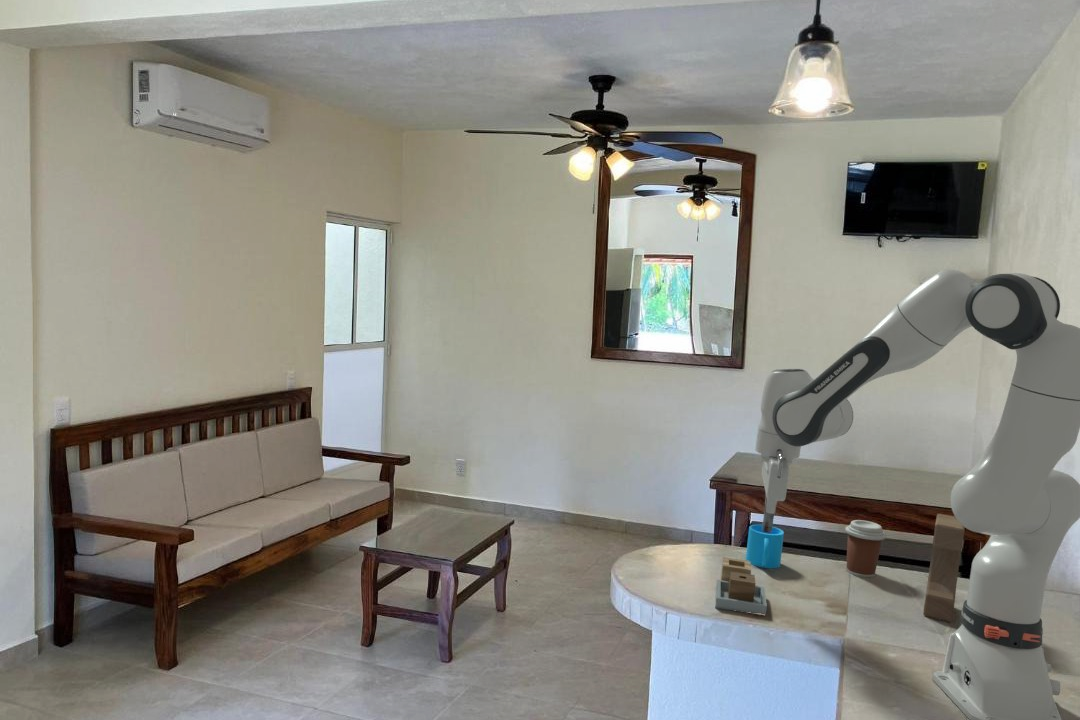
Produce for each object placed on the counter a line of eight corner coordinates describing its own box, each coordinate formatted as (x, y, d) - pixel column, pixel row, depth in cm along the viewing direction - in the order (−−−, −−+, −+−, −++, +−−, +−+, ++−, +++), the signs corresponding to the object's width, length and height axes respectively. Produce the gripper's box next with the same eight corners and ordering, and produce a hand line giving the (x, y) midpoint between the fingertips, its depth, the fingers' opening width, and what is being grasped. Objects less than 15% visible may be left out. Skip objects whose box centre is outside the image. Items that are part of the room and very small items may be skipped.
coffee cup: (851, 563, 205) (857, 516, 204) (887, 575, 198) (893, 526, 197) (833, 570, 199) (839, 521, 197) (870, 582, 192) (876, 532, 191)
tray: (765, 616, 167) (766, 605, 166) (715, 608, 169) (716, 597, 168) (763, 596, 177) (764, 586, 177) (715, 589, 179) (716, 579, 179)
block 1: (748, 592, 179) (751, 569, 179) (720, 587, 181) (723, 565, 180) (747, 582, 185) (750, 561, 185) (720, 578, 186) (723, 557, 186)
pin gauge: (772, 533, 171) (777, 491, 169) (762, 531, 171) (767, 489, 170) (771, 530, 173) (776, 488, 171) (761, 528, 173) (767, 487, 172)
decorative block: (951, 623, 171) (964, 529, 169) (921, 616, 174) (934, 524, 172) (954, 606, 181) (966, 518, 179) (925, 600, 183) (937, 512, 181)
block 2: (752, 606, 170) (755, 583, 169) (728, 602, 171) (730, 579, 170) (752, 597, 175) (754, 575, 174) (728, 594, 176) (730, 571, 175)
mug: (745, 554, 205) (748, 522, 204) (779, 559, 203) (782, 527, 203) (746, 570, 193) (749, 536, 193) (782, 575, 192) (786, 541, 191)
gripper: (798, 458, 159) (789, 527, 161) (789, 438, 179) (781, 499, 180) (765, 454, 160) (756, 522, 162) (760, 434, 180) (752, 495, 182)
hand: (769, 510), depth 171 cm, fingers closed on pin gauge, 2 cm apart
